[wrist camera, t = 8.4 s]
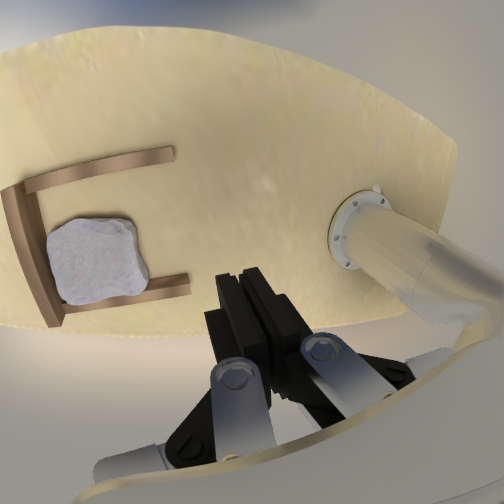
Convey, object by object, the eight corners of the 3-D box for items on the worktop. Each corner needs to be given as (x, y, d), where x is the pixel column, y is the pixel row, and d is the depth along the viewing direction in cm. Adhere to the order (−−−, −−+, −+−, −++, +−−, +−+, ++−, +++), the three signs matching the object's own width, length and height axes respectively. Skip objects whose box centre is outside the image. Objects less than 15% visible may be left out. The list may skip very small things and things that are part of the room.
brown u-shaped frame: (171, 145, 26) (173, 148, 22) (189, 283, 34) (194, 306, 30) (20, 181, 21) (0, 191, 17) (58, 304, 29) (48, 327, 25)
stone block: (51, 224, 27) (70, 298, 29) (36, 229, 22) (60, 313, 25) (136, 203, 30) (152, 281, 33) (132, 206, 26) (151, 296, 28)
